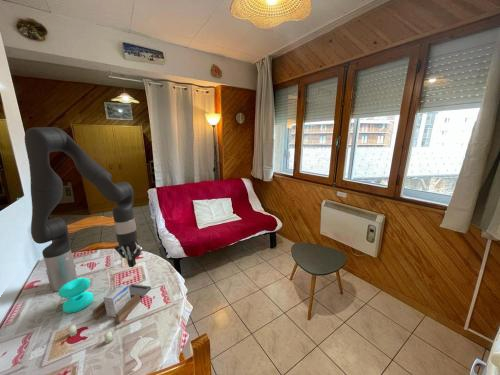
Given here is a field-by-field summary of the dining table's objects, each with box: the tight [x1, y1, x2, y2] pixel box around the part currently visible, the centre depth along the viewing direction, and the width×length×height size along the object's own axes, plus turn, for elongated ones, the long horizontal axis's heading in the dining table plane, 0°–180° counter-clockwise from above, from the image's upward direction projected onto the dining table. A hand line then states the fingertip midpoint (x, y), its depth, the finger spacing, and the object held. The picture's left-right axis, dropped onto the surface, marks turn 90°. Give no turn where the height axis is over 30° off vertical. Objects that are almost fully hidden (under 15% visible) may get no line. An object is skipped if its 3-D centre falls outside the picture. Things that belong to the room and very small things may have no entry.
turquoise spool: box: [57, 277, 95, 314], centre depth 83 cm, size 10×10×10 cm
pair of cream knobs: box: [67, 324, 114, 345], centre depth 69 cm, size 17×2×3 cm, turn 79°
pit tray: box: [129, 283, 152, 299], centre depth 91 cm, size 10×6×1 cm, turn 79°
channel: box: [92, 293, 142, 324], centre depth 81 cm, size 11×11×4 cm
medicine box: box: [103, 283, 132, 318], centre depth 81 cm, size 8×4×9 cm, turn 168°
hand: (132, 266), depth 88 cm, fingers closed
